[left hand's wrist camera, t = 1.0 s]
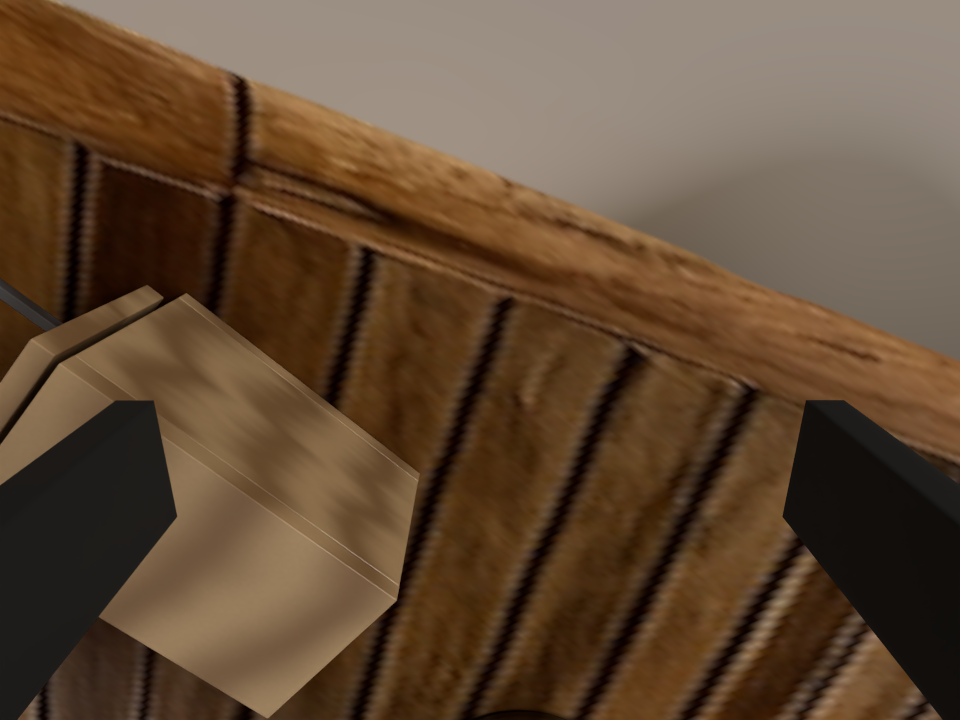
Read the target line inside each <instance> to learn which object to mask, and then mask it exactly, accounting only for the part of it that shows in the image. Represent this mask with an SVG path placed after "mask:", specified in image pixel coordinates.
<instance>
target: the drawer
mask: <svg viewBox="0 0 960 720" xmlns="http://www.w3.org/2000/svg"><path fill="white" fill-rule="evenodd" d="M0 299H1V300H2V301H4V302H5V303H7V304H8V305H9V306H11V307H12V308H14V309H15V310H16V311H18V312H19V313H21V314H22V315H23V316H25V317H26V318H28V319H29V320H30V321H32V322H33V323H35V324H36V325H37V326H39V327H40V328H42V329H43V330H45V331H46V332H45V333H42V334H40V335H38V336H36V337H34V338H32V339H30V340H29V342H28V343H27V345H26V346H25V348H24V349H23V351H22V352H21V353H20V355H19V356H18V358H17V359H16V361H15V362H14V364H13V365H12V366H11V368H10V369H9V371H8V372H7V374H6V375H5V377H4V378H3V379H2V381H1V382H0V445H1V443H2V442H3V441H4V439H5V438H6V436H7V435H8V434H9V432H10V431H11V429H12V428H13V427H14V425H15V424H16V423H17V421H18V420H19V418H20V417H21V416H22V414H23V413H24V411H25V410H26V409H27V407H28V406H29V404H30V403H31V402H32V400H33V399H34V398H35V396H36V395H37V393H38V392H39V391H40V389H41V388H42V386H43V385H44V384H45V382H46V381H47V379H48V378H49V377H50V375H51V374H52V373H53V371H54V370H55V368H56V367H57V366H58V364H59V363H61V362H63V361H65V360H66V359H68V358H70V357H72V356H74V355H76V354H78V353H80V352H81V351H83V350H85V349H87V348H89V347H90V346H92V345H94V344H96V343H98V342H99V341H101V340H103V339H105V338H107V337H108V336H110V335H112V334H114V333H116V332H117V331H119V330H121V329H123V328H125V327H126V326H128V325H130V324H132V323H134V322H135V321H137V320H139V319H141V318H143V317H144V316H146V315H148V314H150V313H152V312H153V311H154V310H155V309H156V308H157V306H158V305H159V304H160V302H161V301H162V300H163V297H162V296H161V295H160V294H159V293H157V292H156V291H155V290H153V289H152V288H151V287H149V286H148V285H146V286H144V287H141V288H139V289H137V290H135V291H133V292H131V293H129V294H126V295H124V296H122V297H120V298H118V299H116V300H113V301H111V302H109V303H107V304H105V305H103V306H101V307H98V308H96V309H94V310H92V311H90V312H88V313H86V314H83V315H81V316H79V317H77V318H75V319H73V320H70V321H68V322H66V323H64V324H63V323H62V322H60V321H59V320H57V319H56V318H55V317H53V316H52V315H50V314H49V313H48V312H46V311H45V310H44V309H42V308H41V307H39V306H38V305H37V304H35V303H34V302H32V301H31V300H30V299H28V298H27V297H25V296H24V295H23V294H21V293H20V292H19V291H17V290H16V289H14V288H13V287H12V286H10V285H9V284H7V283H6V282H5V281H3V280H2V279H0Z"/></svg>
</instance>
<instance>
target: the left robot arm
mask: <svg viewBox="0 0 960 720" xmlns="http://www.w3.org/2000/svg"><path fill="white" fill-rule="evenodd" d="M176 518H177V512H176V507H175V502H174V497H173V492H172V487H171V482H170V477H169V472H168V467H167V463H166V458H165V453H164V448H163V443H162V438H161V433H160V428H159V423H158V418H157V413H156V408H155V403H154V400H116V401H114V402H113V403H112V404H110V405H109V406H107V407H106V408H105V409H103V410H102V411H101V412H99V413H98V414H97V415H95V416H94V417H92V418H91V419H90V420H88V421H87V422H86V423H84V424H83V425H82V426H80V427H79V428H77V429H76V430H75V431H73V432H72V433H71V434H69V435H68V436H67V437H65V438H64V439H62V440H61V441H60V442H58V443H57V444H56V445H54V446H53V447H52V448H50V449H49V450H47V451H46V452H45V453H43V454H42V455H41V456H39V457H38V458H36V459H35V460H34V461H32V462H31V463H30V464H28V465H27V466H26V467H24V468H23V469H21V470H20V471H19V472H17V473H16V474H15V475H13V476H12V477H11V478H9V479H8V480H6V481H5V482H4V483H2V484H1V485H0V720H17V719H18V718H19V717H20V715H21V714H22V713H23V712H24V710H25V709H26V708H27V707H28V705H29V704H30V703H31V701H32V700H33V699H34V698H35V696H36V695H37V694H38V693H39V691H40V690H41V689H42V688H43V686H44V685H45V684H46V682H47V681H48V680H49V679H50V677H51V676H52V675H53V674H54V672H55V671H56V670H57V669H58V667H59V666H60V665H61V663H62V662H63V661H64V660H65V658H66V657H67V656H68V655H69V653H70V652H71V651H72V650H73V648H74V647H75V646H76V644H77V643H78V642H79V641H80V639H81V638H82V637H83V636H84V634H85V633H86V632H87V631H88V629H89V628H90V627H91V625H92V624H93V623H94V622H95V620H96V619H97V618H98V617H99V615H100V614H101V613H102V612H103V610H104V609H105V608H106V606H107V605H108V604H109V603H110V601H111V600H112V599H113V598H114V596H115V595H116V594H117V593H118V591H119V590H120V589H121V587H122V586H123V585H124V584H125V582H126V581H127V580H128V579H129V577H130V576H131V575H132V574H133V572H134V571H135V570H136V569H137V567H138V566H139V565H140V563H141V562H142V561H143V560H144V558H145V557H146V556H147V555H148V553H149V552H150V551H151V550H152V548H153V547H154V546H155V544H156V543H157V542H158V541H159V539H160V538H161V537H162V536H163V534H164V533H165V532H166V531H167V529H168V528H169V527H170V525H171V524H172V523H173V522H174V520H175V519H176ZM783 518H784V519H785V520H786V522H787V523H788V524H789V525H790V527H791V528H792V529H793V531H794V532H795V533H796V534H797V536H798V537H799V538H800V539H801V541H802V542H803V543H804V544H805V546H806V547H807V548H808V550H809V551H810V552H811V553H812V555H813V556H814V557H815V558H816V560H817V561H818V562H819V563H820V565H821V566H822V567H823V569H824V570H825V571H826V572H827V574H828V575H829V576H830V577H831V579H832V580H833V581H834V582H835V584H836V585H837V586H838V587H839V589H840V590H841V591H842V593H843V594H844V595H845V596H846V598H847V599H848V600H849V601H850V603H851V604H852V605H853V606H854V608H855V609H856V610H857V612H858V613H859V614H860V615H861V617H862V618H863V619H864V620H865V622H866V623H867V624H868V625H869V627H870V628H871V629H872V631H873V632H874V633H875V634H876V636H877V637H878V638H879V639H880V641H881V642H882V643H883V644H884V646H885V647H886V648H887V650H888V651H889V652H890V653H891V655H892V656H893V657H894V658H895V660H896V661H897V662H898V663H899V665H900V666H901V667H902V669H903V670H904V671H905V672H906V674H907V675H908V676H909V677H910V679H911V680H912V681H913V682H914V684H915V685H916V686H917V688H918V689H919V690H920V691H921V693H922V694H923V695H924V696H925V698H926V699H927V700H928V701H929V703H930V704H931V705H932V707H933V708H934V709H935V710H936V712H937V713H938V714H939V715H940V717H941V718H942V719H943V720H960V485H959V484H958V483H956V482H955V481H954V480H952V479H951V478H949V477H948V476H947V475H945V474H944V473H943V472H941V471H940V470H939V469H937V468H936V467H934V466H933V465H932V464H930V463H929V462H928V461H926V460H925V459H924V458H922V457H921V456H919V455H918V454H917V453H915V452H914V451H913V450H911V449H910V448H908V447H907V446H906V445H904V444H903V443H902V442H900V441H899V440H898V439H896V438H895V437H893V436H892V435H891V434H889V433H888V432H887V431H885V430H884V429H883V428H881V427H880V426H878V425H877V424H876V423H874V422H873V421H872V420H870V419H869V418H868V417H866V416H865V415H863V414H862V413H861V412H859V411H858V410H857V409H855V408H854V407H853V406H851V405H850V404H848V403H847V402H846V401H844V400H806V403H805V408H804V413H803V418H802V423H801V428H800V433H799V438H798V443H797V448H796V453H795V458H794V463H793V467H792V472H791V477H790V482H789V487H788V492H787V497H786V502H785V507H784V512H783ZM478 720H566V719H563V718H560V717H557V716H553V715H549V714H544V713H538V712H507V713H500V714H495V715H490V716H487V717H483V718H481V719H478Z"/></svg>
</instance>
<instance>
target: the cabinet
mask: <svg viewBox="0 0 960 720" xmlns="http://www.w3.org/2000/svg"><path fill="white" fill-rule="evenodd" d="M116 400H154V403H155V408H156V413H157V418H158V423H159V428H160V433H161V438H162V443H163V448H164V453H165V458H166V463H167V467H168V472H169V477H170V482H171V487H172V492H173V497H174V502H175V507H176V512H177V518H176V519H175V520H174V522H173V523H172V524H171V525H170V527H169V528H168V529H167V531H166V532H165V533H164V534H163V536H162V537H161V538H160V539H159V541H158V542H157V543H156V544H155V546H154V547H153V548H152V550H151V551H150V552H149V553H148V555H147V556H146V557H145V558H144V560H143V561H142V562H141V563H140V565H139V566H138V567H137V569H136V570H135V571H134V572H133V574H132V575H131V576H130V577H129V579H128V580H127V581H126V582H125V584H124V585H123V586H122V587H121V589H120V590H119V591H118V593H117V594H116V595H115V596H114V598H113V599H112V600H111V601H110V603H109V604H108V605H107V606H106V608H105V609H104V610H103V612H102V613H101V614H100V615H99V617H100V618H101V619H103V620H105V621H106V622H108V623H110V624H111V625H113V626H114V627H116V628H118V629H119V630H121V631H123V632H124V633H126V634H128V635H129V636H131V637H133V638H134V639H136V640H138V641H139V642H141V643H143V644H144V645H146V646H148V647H149V648H151V649H153V650H154V651H156V652H158V653H159V654H161V655H163V656H164V657H166V658H168V659H169V660H171V661H173V662H174V663H176V664H178V665H179V666H181V667H183V668H184V669H186V670H188V671H189V672H191V673H193V674H194V675H196V676H197V677H199V678H201V679H202V680H204V681H206V682H207V683H209V684H211V685H212V686H214V687H216V688H217V689H219V690H221V691H222V692H224V693H226V694H227V695H229V696H231V697H232V698H234V699H236V700H237V701H239V702H241V703H242V704H244V705H246V706H247V707H249V708H251V709H252V710H254V711H256V712H257V713H259V714H261V715H262V716H264V717H266V718H269V717H270V716H271V715H272V714H273V713H274V712H275V711H276V710H278V709H279V708H280V707H281V706H282V705H283V704H284V703H285V702H286V701H287V700H289V699H290V698H291V697H292V696H293V695H294V694H295V693H296V692H297V691H298V690H299V689H301V688H302V687H303V686H304V685H305V684H306V683H307V682H308V681H309V680H310V679H311V678H313V677H314V676H315V675H316V674H317V673H318V672H319V671H320V670H321V669H322V668H323V667H325V666H326V665H327V664H328V663H329V662H330V661H331V660H332V659H333V658H334V657H335V656H337V655H338V654H339V653H340V652H341V651H342V650H343V649H344V648H345V647H346V646H347V645H349V644H350V643H351V642H352V641H353V640H354V639H355V638H356V637H357V636H358V635H360V634H361V633H362V632H363V631H364V630H365V629H366V628H367V627H368V626H369V625H370V624H372V623H373V622H374V621H375V620H376V619H377V618H378V617H379V616H380V615H381V614H382V613H384V612H385V611H386V610H387V609H388V608H389V607H390V606H391V605H392V604H393V603H394V602H396V601H397V596H398V590H399V584H400V578H401V573H402V567H403V562H404V556H405V551H406V545H407V539H408V534H409V528H410V523H411V517H412V512H413V506H414V501H415V495H416V490H417V484H418V479H419V473H418V472H417V471H416V470H414V469H413V468H412V467H411V466H409V465H408V464H407V463H405V462H404V461H403V460H401V459H400V458H399V457H398V456H396V455H395V454H394V453H392V452H391V451H390V450H389V449H387V448H386V447H385V446H383V445H382V444H381V443H380V442H378V441H377V440H376V439H374V438H373V437H372V436H370V435H369V434H368V433H367V432H365V431H364V430H363V429H361V428H360V427H359V426H358V425H356V424H355V423H354V422H352V421H351V420H350V419H349V418H347V417H346V416H345V415H343V414H342V413H341V412H339V411H338V410H337V409H336V408H334V407H333V406H332V405H330V404H329V403H328V402H327V401H325V400H324V399H323V398H321V397H320V396H319V395H318V394H316V393H315V392H314V391H312V390H311V389H310V388H308V387H307V386H306V385H305V384H303V383H302V382H301V381H299V380H298V379H297V378H296V377H294V376H293V375H292V374H290V373H289V372H288V371H287V370H285V369H284V368H283V367H281V366H280V365H279V364H277V363H276V362H275V361H274V360H272V359H271V358H270V357H268V356H267V355H266V354H265V353H263V352H262V351H261V350H259V349H258V348H257V347H256V346H254V345H253V344H252V343H250V342H249V341H248V340H246V339H245V338H244V337H243V336H241V335H240V334H239V333H237V332H236V331H235V330H234V329H232V328H231V327H230V326H228V325H227V324H226V323H224V322H223V321H222V320H221V319H219V318H218V317H217V316H215V315H214V314H213V313H212V312H210V311H209V310H208V309H206V308H205V307H204V306H203V305H201V304H200V303H199V302H197V301H196V300H195V299H193V298H192V297H191V296H190V295H188V294H187V293H186V294H184V295H182V296H180V297H178V298H177V299H175V300H173V301H171V302H170V303H168V304H166V305H164V306H162V307H161V308H159V309H157V310H155V311H153V312H152V313H150V314H148V315H146V316H144V317H143V318H141V319H139V320H137V321H135V322H134V323H132V324H130V325H128V326H126V327H125V328H123V329H121V330H119V331H117V332H116V333H114V334H112V335H110V336H108V337H107V338H105V339H103V340H101V341H99V342H98V343H96V344H94V345H92V346H90V347H89V348H87V349H85V350H83V351H81V352H80V353H78V354H76V355H74V356H72V357H70V358H68V359H66V360H65V361H63V362H61V363H59V364H58V366H57V367H56V368H55V370H54V371H53V373H52V374H51V375H50V377H49V378H48V379H47V381H46V382H45V384H44V385H43V386H42V388H41V389H40V391H39V392H38V393H37V395H36V396H35V398H34V399H33V400H32V402H31V403H30V404H29V406H28V407H27V409H26V410H25V411H24V413H23V414H22V416H21V417H20V418H19V420H18V421H17V423H16V424H15V425H14V427H13V428H12V429H11V431H10V432H9V434H8V435H7V436H6V438H5V439H4V441H3V442H2V443H1V445H0V485H1V484H2V483H4V482H5V481H6V480H8V479H9V478H11V477H12V476H13V475H15V474H16V473H17V472H19V471H20V470H21V469H23V468H24V467H26V466H27V465H28V464H30V463H31V462H32V461H34V460H35V459H36V458H38V457H39V456H41V455H42V454H43V453H45V452H46V451H47V450H49V449H50V448H52V447H53V446H54V445H56V444H57V443H58V442H60V441H61V440H62V439H64V438H65V437H67V436H68V435H69V434H71V433H72V432H73V431H75V430H76V429H77V428H79V427H80V426H82V425H83V424H84V423H86V422H87V421H88V420H90V419H91V418H92V417H94V416H95V415H97V414H98V413H99V412H101V411H102V410H103V409H105V408H106V407H107V406H109V405H110V404H112V403H113V402H114V401H116Z"/></svg>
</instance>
